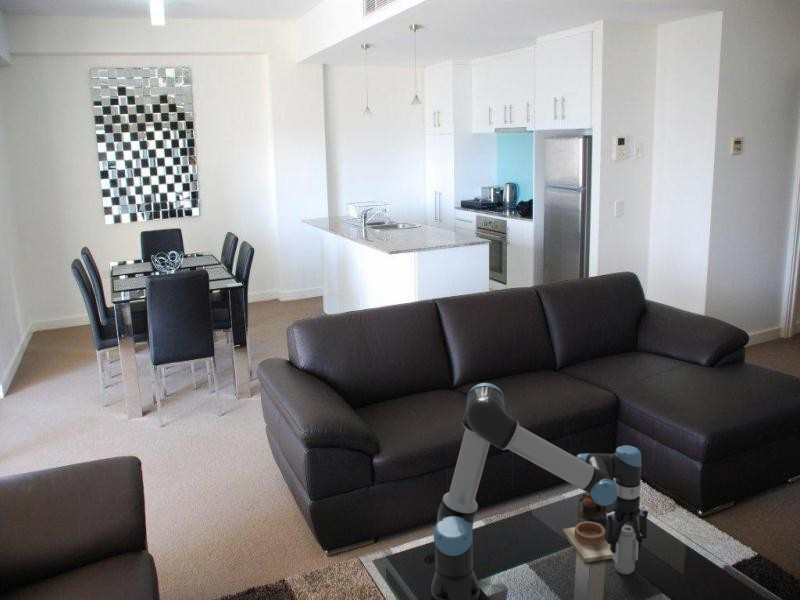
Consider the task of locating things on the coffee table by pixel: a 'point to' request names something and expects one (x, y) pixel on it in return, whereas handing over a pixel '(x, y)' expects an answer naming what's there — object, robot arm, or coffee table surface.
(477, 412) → the robot arm
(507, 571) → the coffee table surface
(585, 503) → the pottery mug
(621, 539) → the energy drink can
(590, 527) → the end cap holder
